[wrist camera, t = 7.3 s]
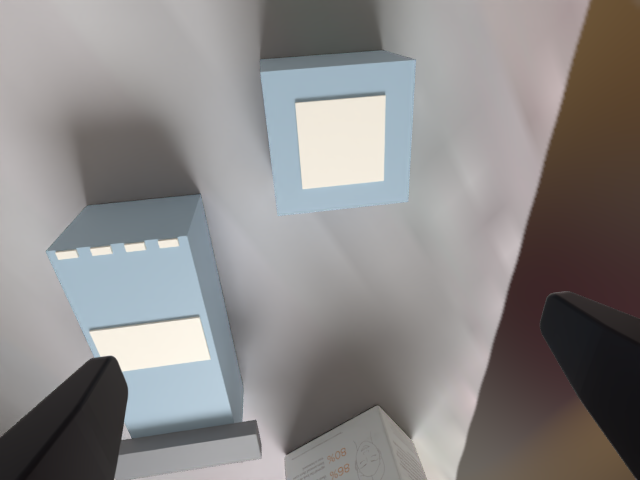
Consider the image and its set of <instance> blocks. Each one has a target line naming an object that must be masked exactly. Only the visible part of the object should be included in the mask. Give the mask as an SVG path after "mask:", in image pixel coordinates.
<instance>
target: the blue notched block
mask: <svg viewBox="0 0 640 480" xmlns="http://www.w3.org/2000/svg"><path fill="white" fill-rule="evenodd" d="M46 253H47V255H48V258H49V260H50V262H51V264H52V266H53V268H54V271H55V273H56V275H57V277H58V279H59V281H60V284H61V286H62V288H63V290H64V292H65V295H66V297H67V299H68V301H69V303H70V305H71V308H72V310H73V312H74V314H75V316H76V318H77V321H78V323H79V325H80V327H81V329H82V331H83V334H84V336H85V338H86V340H87V342H88V344H89V347H90V349H91V351H92V353H93V355H94V357H95V358H96V357H103V356H114V357H115V358H116V359H117V361H118V363H119V365H120V368H121V370H122V373H123V375H124V378H125V380H126V382H127V386H128V400H127V407H126V413H125V419H124V422H125V425H126V427H127V429H128V431H129V433H130V435H131V438H132V439H126V440H121V444H120V450H119V457H118V463H117V468H116V473H115V480H131V479H137V478H144V477H150V476H156V475H163V474H169V473H175V472H181V471H188V470H194V469H200V468H207V467H213V466H219V465H225V464H232V463H238V462H244V461H251V460H257V459H261V440H260V435H259V430H258V426H257V421H256V420H252V421H246V422H242V417H243V393H244V388H243V384H242V379H241V375H240V370H239V366H238V361H237V357H236V352H235V348H234V343H233V339H232V334H231V329H230V325H229V320H228V316H227V311H226V307H225V302H224V298H223V293H222V289H221V284H220V280H219V275H218V271H217V266H216V261H215V257H214V252H213V248H212V243H211V239H210V234H209V230H208V225H207V221H206V216H205V212H204V207H203V203H202V198H201V194H196V195H186V196H176V197H167V198H157V199H147V200H137V201H128V202H118V203H108V204H98V205H89V206H86V207H85V208H84V209H83V210H82V212H81V213H80V214H79V215H78V216H77V217H76V218H75V219H74V220H73V222H72V223H71V224H70V225H69V226H68V227H67V228H66V229H65V230H64V232H63V233H62V234H61V235H60V236H59V237H58V238H57V239H56V240H55V242H54V243H53V244H52V245H51V246H50V247H49V248H48V249H47V250H46Z"/></svg>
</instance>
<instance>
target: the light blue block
mask: <svg viewBox="0 0 640 480" xmlns="http://www.w3.org/2000/svg"><path fill="white" fill-rule="evenodd" d="M415 68H416V60H415V59H412V58H408V57H405V56H401V55H398V54H395V53H391V52H388V51H384V50H378V51H365V52H352V53H338V54H325V55H312V56H299V57H286V58H273V59H260V74H261V83H262V91H263V99H264V107H265V115H266V124H267V132H268V140H269V148H270V156H271V165H272V173H273V181H274V189H275V197H276V206H277V214H278V216H283V215H292V214H301V213H310V212H319V211H328V210H338V209H347V208H356V207H365V206H374V205H384V204H393V203H402V202H408V196H409V177H410V159H411V141H412V123H413V105H414V86H415Z"/></svg>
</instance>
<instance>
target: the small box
mask: <svg viewBox="0 0 640 480" xmlns="http://www.w3.org/2000/svg"><path fill="white" fill-rule="evenodd" d="M285 475H286V480H427V478H426V475H425V472H424V470H423V467H422V464H421V462H420V459H419V456H418V454H417V451H416V448H415V446H414V443H413V441H412V440H411V439H410V438H409V437H408V436H407V435H406V434H405V433H404V432H403V431H402V430H401V428H400V427H399V426H398V425H397V424H396V423H395V422H394V421H393V420H392V419H391V418H390V417H389V416H388V415H387V414H386V413H385V412H384V411H383V410H382V409H381V408H380V406H375V407H373V408H371V409H369V410H367V411H366V412H364V413H362V414H360V415H358V416H357V417H355V418H353V419H351V420H349V421H347V422H346V423H344V424H342V425H340V426H338V427H336V428H335V429H333V430H331V431H329V432H327V433H326V434H324V435H322V436H320V437H318V438H316V439H315V440H313V441H311V442H309V443H307V444H306V445H304V446H302V447H300V448H298V449H297V450H295V451H293V452H291V453H289V454H288V455H286V456H285Z"/></svg>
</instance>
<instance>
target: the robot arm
mask: <svg viewBox="0 0 640 480" xmlns="http://www.w3.org/2000/svg"><path fill="white" fill-rule="evenodd" d="M540 329H541V333H542V335H543V337H544V339H545V340H546V342H547V344H548V346H549V347H550V349H551V351H552V353H553V354H554V356H555V358H556V360H557V361H558V363H559V365H560V366H561V368H562V370H563V372H564V373H565V375H566V377H567V379H568V380H569V382H570V384H571V386H572V387H573V389H574V391H575V392H576V394H577V396H578V397H579V399H580V400H581V402H582V403H583V404H584V406H585V408H586V409H587V410H588V412H589V413H590V415H591V416H592V417H593V419H594V420H595V422H596V423H597V424H598V426H599V427H600V429H601V430H602V432H603V433H604V435H605V436H606V437H607V439H608V440H609V441H610V443H611V444H612V446H613V447H614V449H615V450H616V451H617V453H618V454H619V456H620V457H621V459H622V460H623V461H624V463H625V464H626V466H627V467H628V468H629V470H630V471H631V473H632V474H633V476H634V477H635V478H636V480H640V319H639V318H636V317H634V316H631V315H629V314H626V313H623V312H621V311H618V310H616V309H613V308H611V307H608V306H605V305H603V304H600V303H598V302H595V301H593V300H590V299H588V298H585V297H583V296H580V295H577V294H575V293H573V292H569V291H565V292H558V293H552V294H550V295H549V296H548V297H547V298H546V302H545V306H544V310H543V313H542V317H541V321H540ZM127 400H128V386H127V382H126V380H125V378H124V375H123V373H122V370H121V368H120V365H119V363H118V361H117V359H116V358H115V357H114V356H103V357H96V358H92V359H90V360H88V361H87V362H86V363H85V364H84V365H83V366H81V367H80V368H79V369H78V370H77V371H76V372H75V373H73V374H72V375H71V376H70V377H69V378H68V379H67V380H65V381H64V382H63V383H62V384H61V385H60V386H59V387H57V388H56V389H55V390H54V391H53V392H52V393H51V394H49V395H48V396H47V397H46V398H45V399H44V400H43V401H41V402H40V403H39V404H38V405H37V406H36V407H35V408H33V409H32V410H31V411H30V412H29V413H28V414H27V415H25V416H24V417H23V418H22V419H21V420H20V421H19V422H17V423H16V424H15V425H14V426H13V427H12V428H11V429H9V430H8V431H7V432H6V433H5V434H4V435H3V436H1V437H0V480H114V478H115V473H116V468H117V463H118V457H119V450H120V444H121V438H122V432H123V425H124V419H125V413H126V407H127Z"/></svg>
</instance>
